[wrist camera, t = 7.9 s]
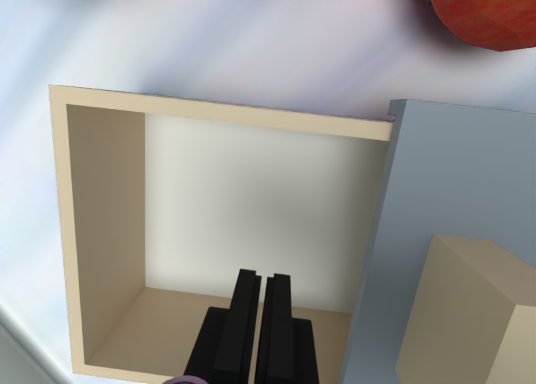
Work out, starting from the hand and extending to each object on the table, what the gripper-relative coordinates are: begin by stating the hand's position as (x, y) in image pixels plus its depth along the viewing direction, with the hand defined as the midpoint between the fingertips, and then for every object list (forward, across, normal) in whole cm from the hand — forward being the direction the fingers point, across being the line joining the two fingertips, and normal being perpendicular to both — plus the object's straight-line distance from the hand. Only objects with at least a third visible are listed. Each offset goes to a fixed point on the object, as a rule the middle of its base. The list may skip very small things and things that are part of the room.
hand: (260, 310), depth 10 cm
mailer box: (+9, -1, 0) cm, 9 cm away
